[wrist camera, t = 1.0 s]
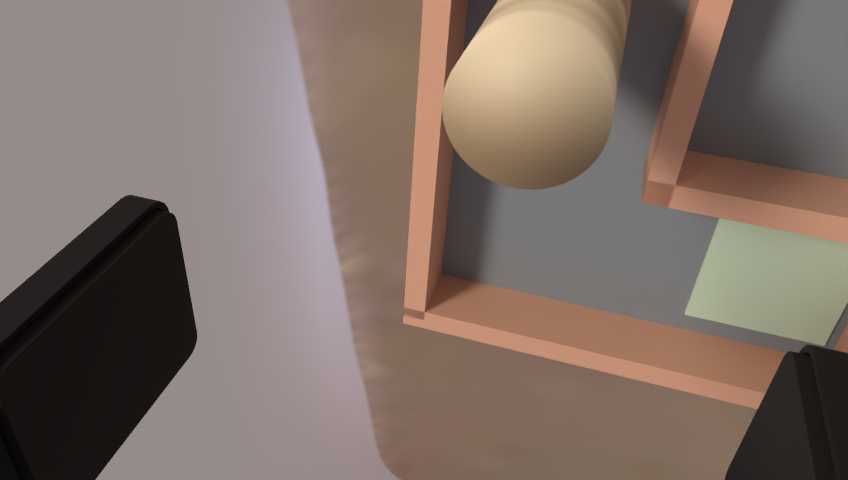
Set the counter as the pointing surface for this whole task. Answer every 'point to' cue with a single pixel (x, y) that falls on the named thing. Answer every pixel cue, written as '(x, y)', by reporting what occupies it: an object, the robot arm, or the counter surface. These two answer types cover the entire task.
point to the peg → (537, 90)
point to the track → (655, 204)
